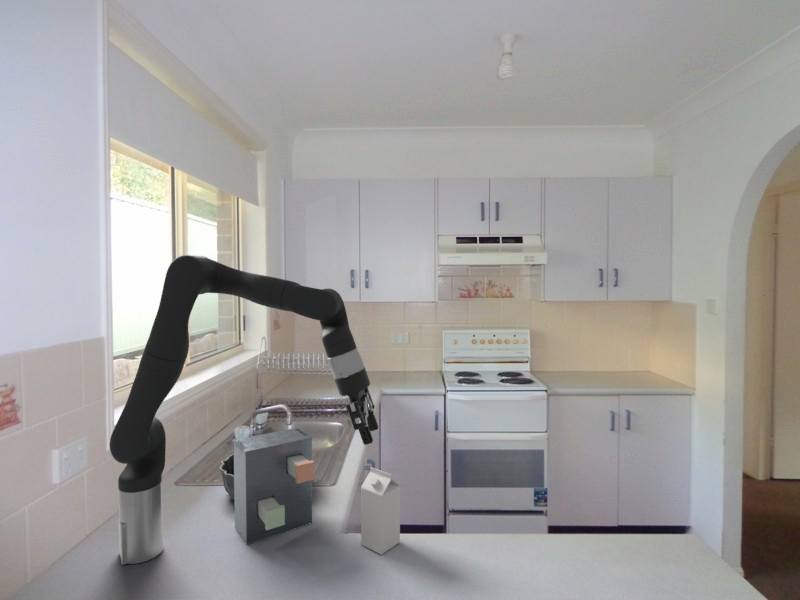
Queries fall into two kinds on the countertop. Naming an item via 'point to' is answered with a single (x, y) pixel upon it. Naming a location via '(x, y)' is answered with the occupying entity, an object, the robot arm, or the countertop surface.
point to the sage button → (271, 512)
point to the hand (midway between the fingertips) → (371, 436)
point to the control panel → (270, 482)
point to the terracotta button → (300, 468)
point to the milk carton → (380, 511)
